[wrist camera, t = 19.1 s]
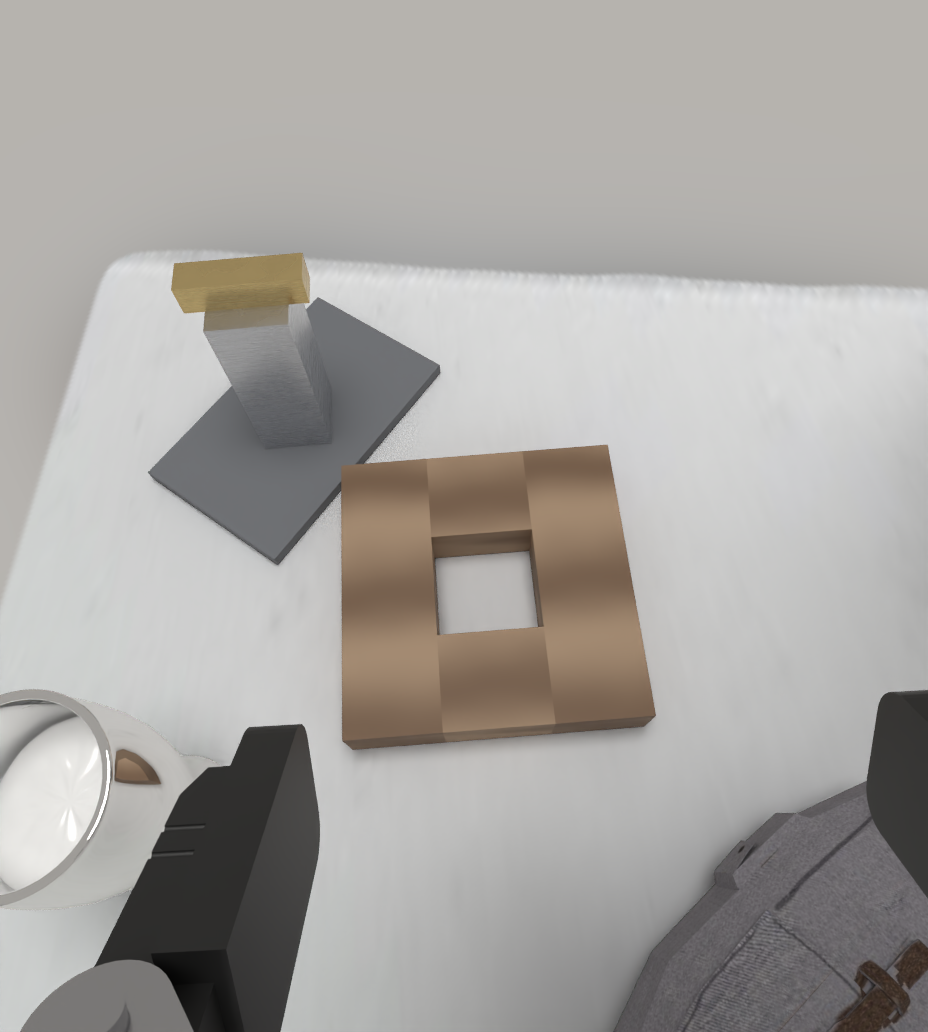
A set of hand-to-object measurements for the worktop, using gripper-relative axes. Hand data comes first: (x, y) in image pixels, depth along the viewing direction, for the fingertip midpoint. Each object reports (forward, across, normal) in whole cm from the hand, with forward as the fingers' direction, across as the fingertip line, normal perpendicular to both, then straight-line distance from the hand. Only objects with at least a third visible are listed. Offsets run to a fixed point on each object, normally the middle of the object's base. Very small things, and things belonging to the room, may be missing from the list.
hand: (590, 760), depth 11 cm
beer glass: (+22, +16, +19) cm, 33 cm away
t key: (+37, +12, +3) cm, 39 cm away
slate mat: (+38, +12, +3) cm, 39 cm away
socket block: (+29, +1, +12) cm, 31 cm away
